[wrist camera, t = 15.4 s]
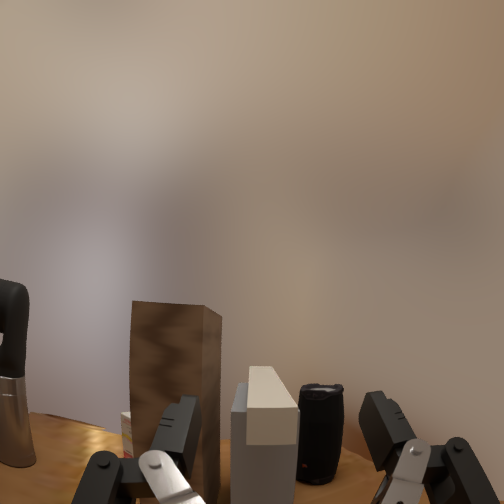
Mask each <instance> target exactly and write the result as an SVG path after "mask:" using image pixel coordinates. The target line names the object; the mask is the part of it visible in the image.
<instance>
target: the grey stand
mask: <svg viewBox="0 0 504 504" xmlns="http://www.w3.org/2000/svg"><path fill="white" fill-rule="evenodd" d="M248 386H249V383H239V384H238V388H237V391H236V395H235V399H234V402H233V406H232V410H231V504H293V500H294V490H295V480H296V468H297V456H298V442H299V426H300V410H299V409H298V421H297V438H296V444H290V445H246V432H247V400H248Z"/></svg>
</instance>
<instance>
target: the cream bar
mask: <svg viewBox="0 0 504 504" xmlns="http://www.w3.org/2000/svg"><path fill="white" fill-rule="evenodd" d="M297 421H298V406H297V405H296V403H295V402H294V400H293V398H292V397H291V395H290V394H289V393H288V391H287V389H286V388H285V387H284V385H283V383H282V381H281V380H280V378H279V377H278V375H277V374H276V372H275V370H274V369H273V367H272V366H270V367H269V366H267V367H266V366H250V371H249V386H248V400H247V432H246V445H290V444H296V438H297Z"/></svg>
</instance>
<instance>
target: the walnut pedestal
mask: <svg viewBox="0 0 504 504" xmlns="http://www.w3.org/2000/svg"><path fill="white" fill-rule="evenodd" d="M221 334H222V316H220V315H219V314H217V313H216V312H214V311H212V310H210V309H209V308H207V307H206V306H204V305H187V304H171V303H156V302H143V301H132V314H131V330H130V361H129V367H130V368H129V370H130V371H129V388H130V417H131V433H132V445H133V455H134V458H137V457H140V456H141V455H142V454H144V453H145V452H147V451H149V450H150V447H151V445H152V442H153V439H154V437H155V434H156V431H157V428H158V426H159V423H160V420H161V419H162V415H163V412H164V410H165V409H166V408H167V407H168V406H169V405H170V404H171V403H176V404H179V403H180V400H181V397H182V395H183V394H187V395H197V396H199V400H200V408H201V415H202V426H201V431H200V436H199V441H198V446H197V450H196V455H195V460H194V465H193V470H192V475H191V480H189V479H185V480H186V482H187V483H188V484H189V486H190V487H191V488H192V490H193V491H196V492H197V493H198V495H199V496H200V497H201V498H202V500H203V501H204V502H205V503H206V504H216V503H217V498H218V494H219V489H220V379H221ZM139 499H140V504H160V503H159V501H158V499H157V498H139Z"/></svg>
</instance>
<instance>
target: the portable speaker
mask: <svg viewBox="0 0 504 504" xmlns="http://www.w3.org/2000/svg"><path fill="white" fill-rule="evenodd" d="M343 391H344V388H343V386H342V385H340V384H335V385H319V384H307V385H303V386H302V387H301V390H300V395H299V402H298V409H299V410H300V426H299V442H298V456H297V468H296V480H300V479H302V480H306V481H309V482H311V483H312V484H313V485H322V484H326V483H328V482H330V481H332V479H333V477H334V475H335V474H336V470H337V466H338V462H339V458H340V454H341V445H342V436H343V425H344V404H343V394H342V393H343Z"/></svg>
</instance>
